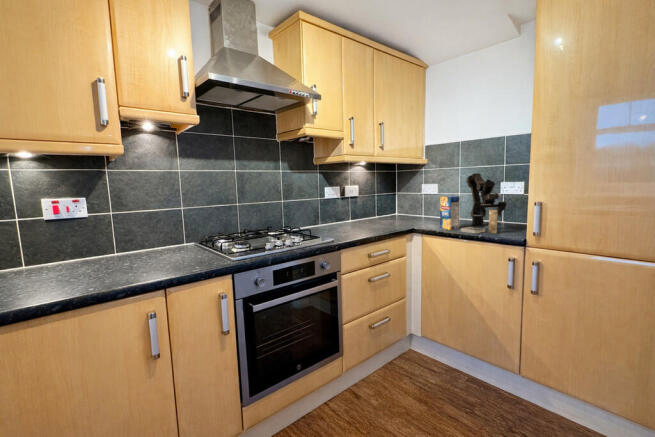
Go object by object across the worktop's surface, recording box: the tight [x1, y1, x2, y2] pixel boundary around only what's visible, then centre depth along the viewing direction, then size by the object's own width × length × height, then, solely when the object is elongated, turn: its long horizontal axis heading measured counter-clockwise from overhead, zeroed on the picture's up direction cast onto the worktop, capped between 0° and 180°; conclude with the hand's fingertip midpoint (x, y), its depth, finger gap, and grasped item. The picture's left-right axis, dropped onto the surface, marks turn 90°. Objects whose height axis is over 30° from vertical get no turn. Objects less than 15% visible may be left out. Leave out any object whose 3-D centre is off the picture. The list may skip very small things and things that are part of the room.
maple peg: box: [488, 209, 498, 234], centre depth 186 cm, size 4×4×14 cm
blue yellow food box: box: [439, 195, 461, 231], centre depth 206 cm, size 7×11×22 cm, turn 16°
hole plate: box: [460, 226, 486, 234], centre depth 193 cm, size 10×10×2 cm
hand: (492, 216), depth 188 cm, fingers open, 9 cm apart
